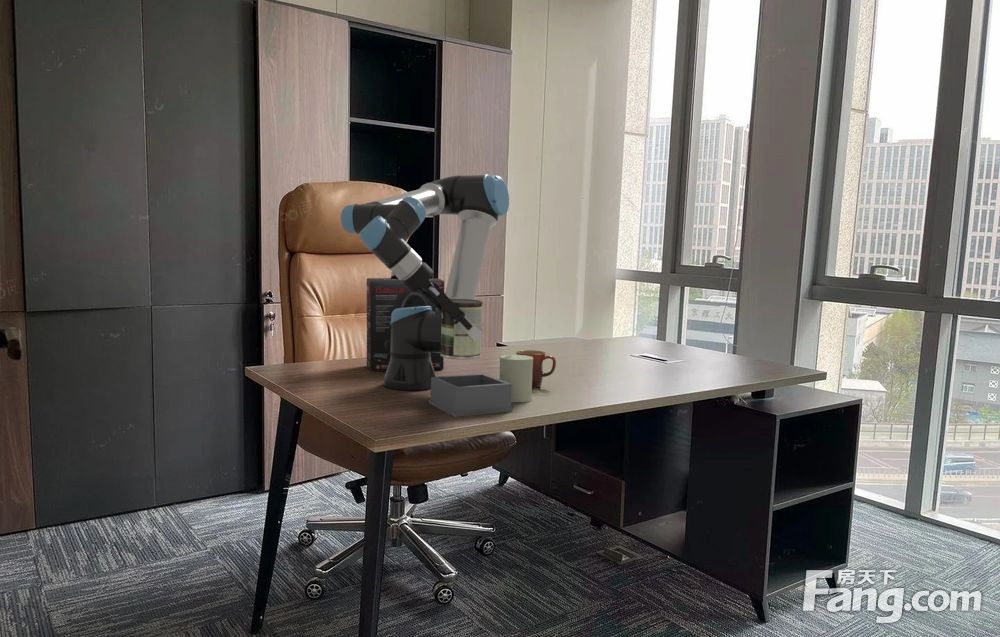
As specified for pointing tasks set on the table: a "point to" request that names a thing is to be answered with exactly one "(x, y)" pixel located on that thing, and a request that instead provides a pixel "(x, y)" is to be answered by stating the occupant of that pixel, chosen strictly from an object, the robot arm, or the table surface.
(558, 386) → the table surface
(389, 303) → the headset box
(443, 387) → the box
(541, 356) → the mug
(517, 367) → the can
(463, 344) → the coffee can
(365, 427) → the table surface
